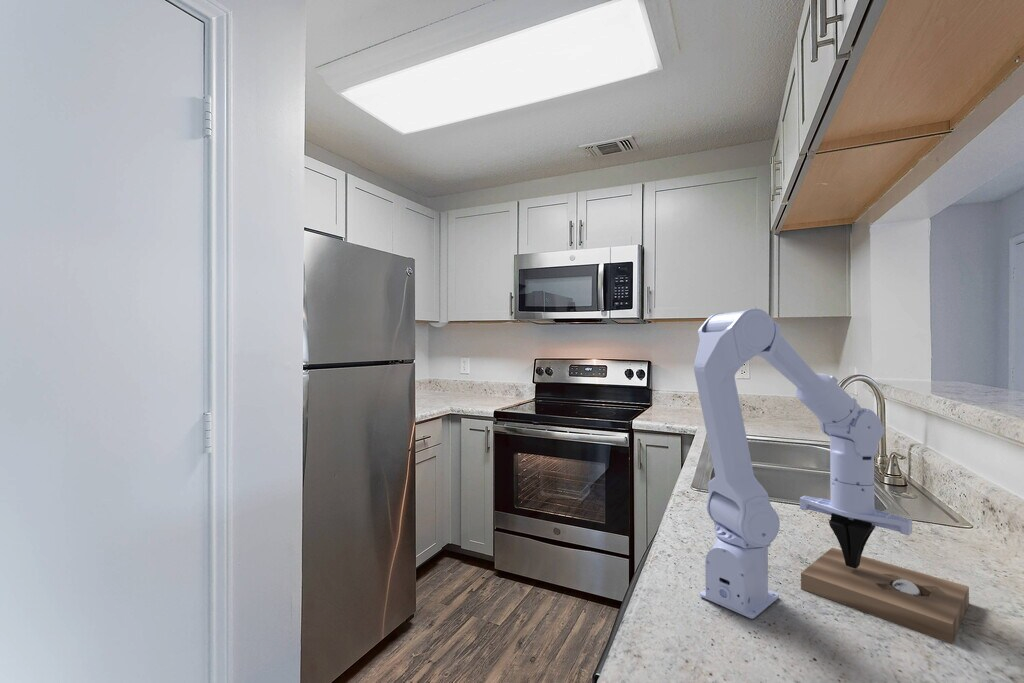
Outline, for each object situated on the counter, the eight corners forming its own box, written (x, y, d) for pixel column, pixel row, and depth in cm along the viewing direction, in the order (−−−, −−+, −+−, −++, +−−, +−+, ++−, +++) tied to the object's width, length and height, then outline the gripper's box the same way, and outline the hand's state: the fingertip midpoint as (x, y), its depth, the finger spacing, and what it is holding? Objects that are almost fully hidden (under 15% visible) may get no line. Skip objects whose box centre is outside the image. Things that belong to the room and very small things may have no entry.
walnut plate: (952, 643, 59) (952, 624, 59) (800, 588, 73) (800, 573, 73) (969, 603, 69) (968, 586, 69) (832, 561, 82) (832, 547, 82)
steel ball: (917, 578, 67) (888, 579, 69) (928, 606, 65) (897, 606, 67) (913, 579, 70) (885, 579, 71) (923, 605, 68) (894, 605, 70)
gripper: (916, 486, 71) (917, 575, 70) (810, 467, 82) (810, 543, 82) (905, 495, 66) (906, 590, 66) (794, 474, 78) (795, 554, 77)
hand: (852, 565), depth 74 cm, fingers closed
